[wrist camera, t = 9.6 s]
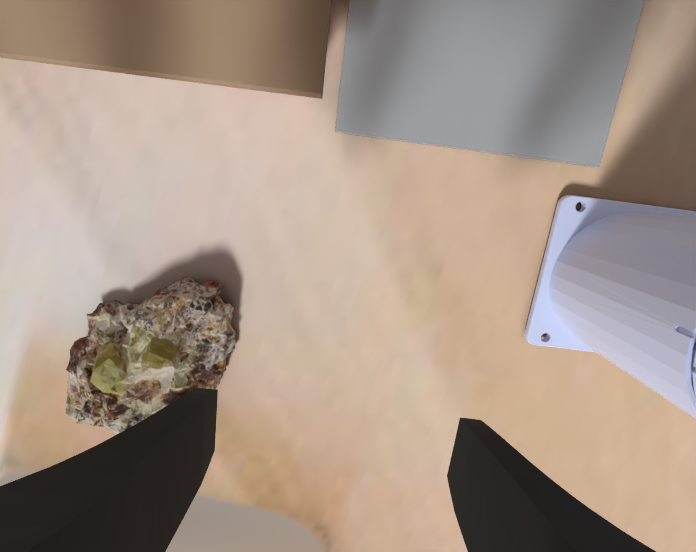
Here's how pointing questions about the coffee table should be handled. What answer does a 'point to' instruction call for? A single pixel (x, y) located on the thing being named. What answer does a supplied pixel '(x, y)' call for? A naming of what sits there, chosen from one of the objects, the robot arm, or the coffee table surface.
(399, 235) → the coffee table surface
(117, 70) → the walnut lid
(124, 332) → the mineral rock
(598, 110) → the rubber mat
